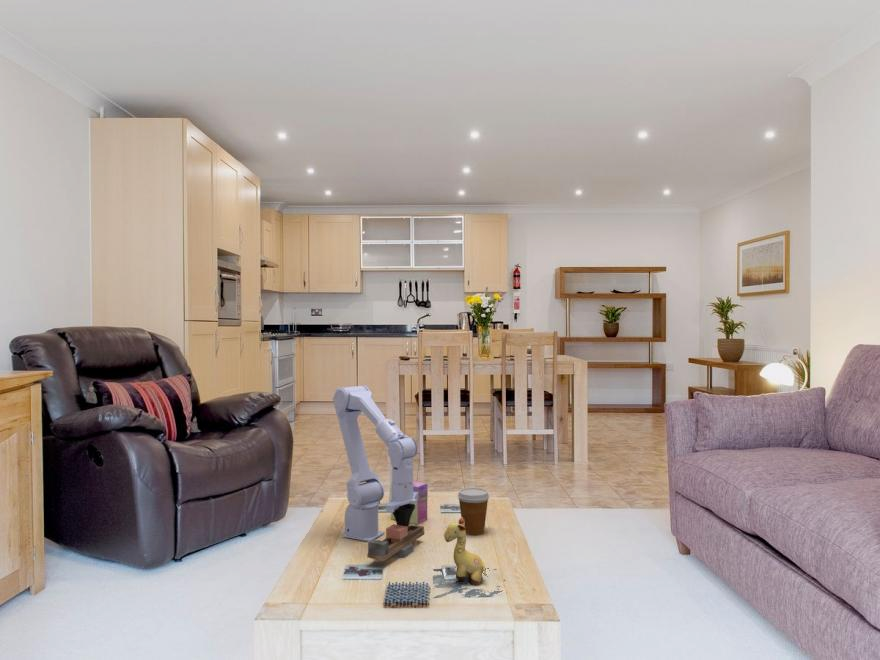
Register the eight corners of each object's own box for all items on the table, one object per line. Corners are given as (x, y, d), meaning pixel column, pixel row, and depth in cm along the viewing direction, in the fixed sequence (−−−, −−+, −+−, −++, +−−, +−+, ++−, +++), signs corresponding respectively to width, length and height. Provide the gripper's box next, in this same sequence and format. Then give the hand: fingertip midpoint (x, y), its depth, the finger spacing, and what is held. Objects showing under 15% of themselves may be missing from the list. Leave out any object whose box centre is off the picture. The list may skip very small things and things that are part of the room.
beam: (364, 564, 154) (364, 541, 155) (406, 538, 174) (406, 517, 174) (387, 569, 151) (387, 545, 151) (427, 541, 171) (427, 520, 171)
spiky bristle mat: (381, 610, 130) (381, 601, 130) (386, 589, 141) (386, 581, 141) (430, 610, 130) (430, 601, 130) (430, 589, 141) (430, 580, 141)
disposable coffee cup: (453, 534, 177) (452, 494, 177) (464, 525, 186) (463, 486, 186) (483, 539, 173) (483, 497, 173) (493, 528, 182) (493, 489, 182)
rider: (386, 542, 162) (386, 528, 162) (393, 537, 165) (393, 524, 165) (400, 544, 160) (400, 530, 160) (407, 540, 163) (407, 526, 163)
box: (428, 520, 191) (427, 482, 191) (417, 525, 186) (417, 486, 186) (401, 514, 197) (401, 478, 197) (390, 519, 192) (390, 482, 192)
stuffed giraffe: (432, 569, 151) (434, 507, 151) (504, 571, 152) (506, 509, 151) (433, 600, 135) (435, 530, 135) (512, 602, 136) (515, 532, 135)
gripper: (402, 490, 157) (402, 542, 157) (427, 477, 170) (427, 525, 170) (379, 487, 160) (379, 538, 160) (405, 475, 173) (406, 522, 173)
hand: (402, 531), depth 166 cm, fingers closed
